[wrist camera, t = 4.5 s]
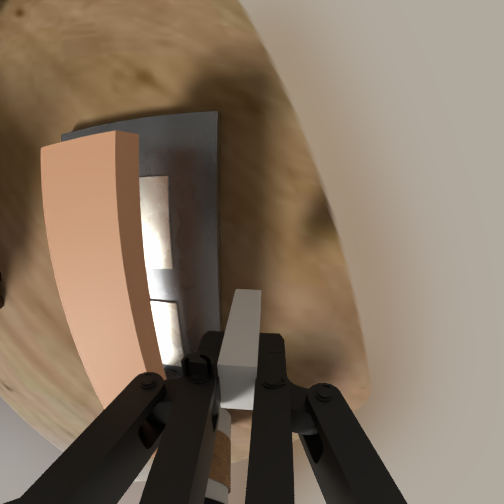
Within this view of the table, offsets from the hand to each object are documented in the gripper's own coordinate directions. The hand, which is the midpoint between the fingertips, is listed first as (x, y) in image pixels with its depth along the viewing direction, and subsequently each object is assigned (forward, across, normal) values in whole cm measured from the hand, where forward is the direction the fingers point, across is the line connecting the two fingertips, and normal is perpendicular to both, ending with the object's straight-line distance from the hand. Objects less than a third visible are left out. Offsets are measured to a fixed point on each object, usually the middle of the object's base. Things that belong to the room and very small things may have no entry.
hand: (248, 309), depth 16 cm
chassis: (+6, -10, -1) cm, 11 cm away
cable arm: (-1, -8, -2) cm, 8 cm away
